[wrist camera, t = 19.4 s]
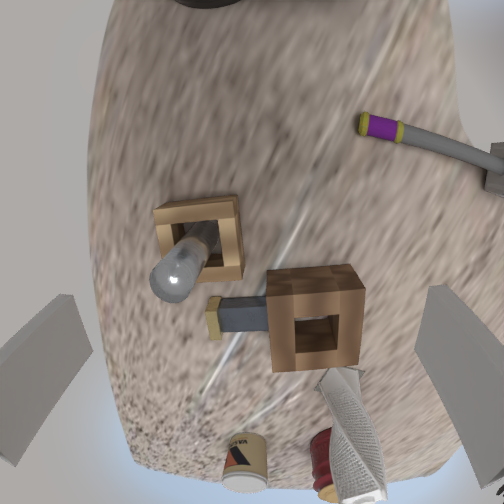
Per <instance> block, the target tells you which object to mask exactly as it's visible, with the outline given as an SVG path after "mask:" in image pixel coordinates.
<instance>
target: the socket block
mask: <svg viewBox="0 0 504 504" xmlns="http://www.w3.org/2000/svg"><path fill="white" fill-rule="evenodd" d="M365 291H366V288H365V287H364V285H363V283H362V282H361V280H360V279H359V277H358V275H357V274H356V272H355V271H354V269H353V267H352V266H351V264H345V265H332V266H320V267H307V268H294V269H280V270H267V285H266V302H267V313H268V325H269V336H270V348H271V360H272V372H273V373H275V372H291V371H305V370H316V369H326V368H335V367H344V366H352V365H358V362H359V354H360V346H361V337H362V327H363V317H364V305H365ZM325 315H328V319H317V320H306V321H294V318H302V317H314V316H325Z"/></svg>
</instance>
